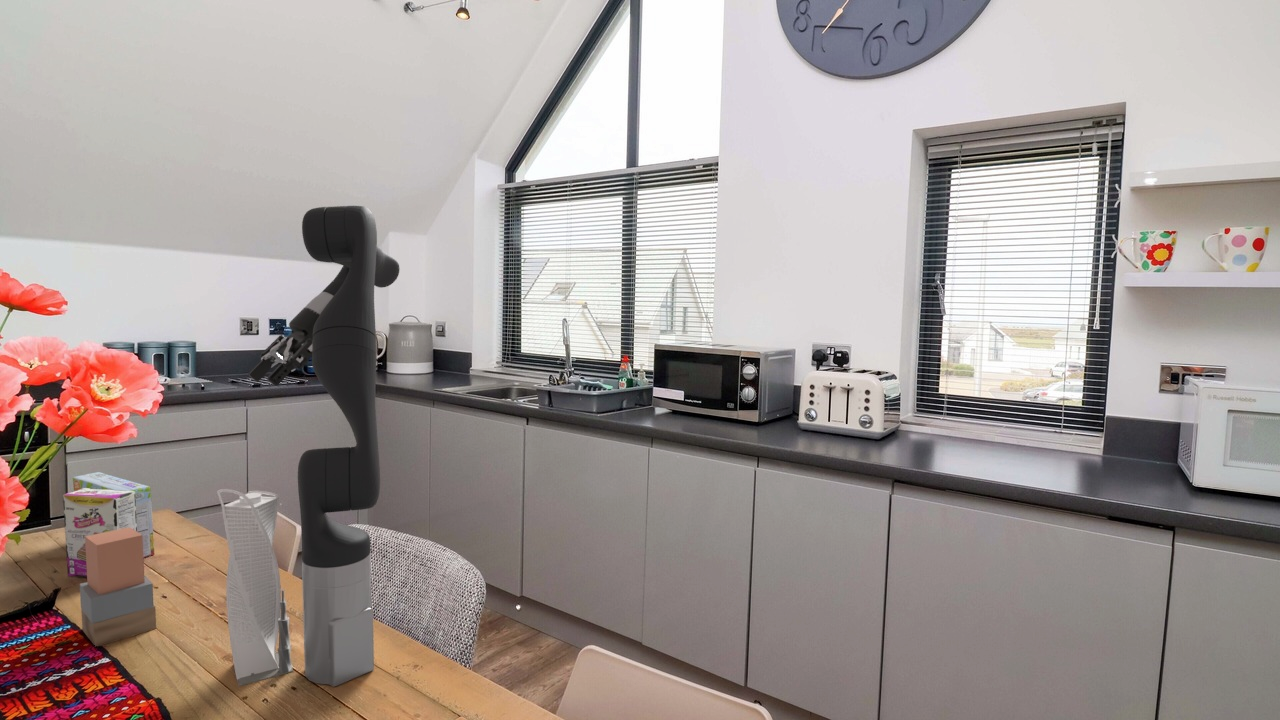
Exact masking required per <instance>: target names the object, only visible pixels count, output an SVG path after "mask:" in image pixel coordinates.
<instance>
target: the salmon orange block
mask: <svg viewBox="0 0 1280 720" xmlns="http://www.w3.org/2000/svg"><path fill="white" fill-rule="evenodd" d="M85 546H86V565H87V577H86V579H87V580H86V581H87V583H88V585H89V586H90V587H91V588H92V589H93V590H95V591H96V592H97V593H98V594H99V595H100V594H104V593H108V592H112V591H115V590H119V589H123V588H126V587H130V586H134V585H137V584H141V583H145V579H144V575H145V561H144V557H143V536H142V534H140V533H138V532H137V531H135V530H133V529H132V528H130V527H128V528H123V529H118V530H114V531H109V532H104V533H99V534H95V535H90V536H85Z"/></svg>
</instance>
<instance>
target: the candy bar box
mask: <svg viewBox="0 0 1280 720" xmlns="http://www.w3.org/2000/svg"><path fill="white" fill-rule="evenodd" d="M62 497H63V498H62V499H63V501H62V502H63V516H64V533H65V534H64V535H65V547H66V548H65V549H66V563H67V564H66V567H67V576H68V577H75V578H87V565H86V546H85V536H90V535H95V534H99V533H104V532H109V531H114V530H118V529H123V528H128V527H130V528H132V529H133V530H135V531H137V522H136V500H135V491H121V490H106V489H92V488H83V489H80V490H76V491H74V490H73V491H71V492H67V493H65V494H63V495H62Z"/></svg>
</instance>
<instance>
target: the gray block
mask: <svg viewBox="0 0 1280 720" xmlns="http://www.w3.org/2000/svg"><path fill="white" fill-rule="evenodd" d="M144 579H145V583H141V584H137V585H134V586H130V587H126V588H123V589H119V590H115V591H112V592H108V593H104V594H100V595H99V594H98V593H97V592H96V591H95V590H93V589H92V588H91V587H90V586H89V585H88V583H87V582H81V583H79V594H80V596H79V597H80V609H81V608H82V610H83V611H84V613H85V614H86V616H87V617H88V619H89V620H90V622H91V623H92V624H94V623H97V622H101V621H104V620H108V619H112V618H115V617H119V616H123V615H126V614H130V613H134V612H137V611H141V610H145V609H148V608H152V607H154V606H155V604H154V586H153V585H154V583H153V582H152V581H151V580H150V579H149V578H148V577H147V576H146V575H145V574H144Z"/></svg>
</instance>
